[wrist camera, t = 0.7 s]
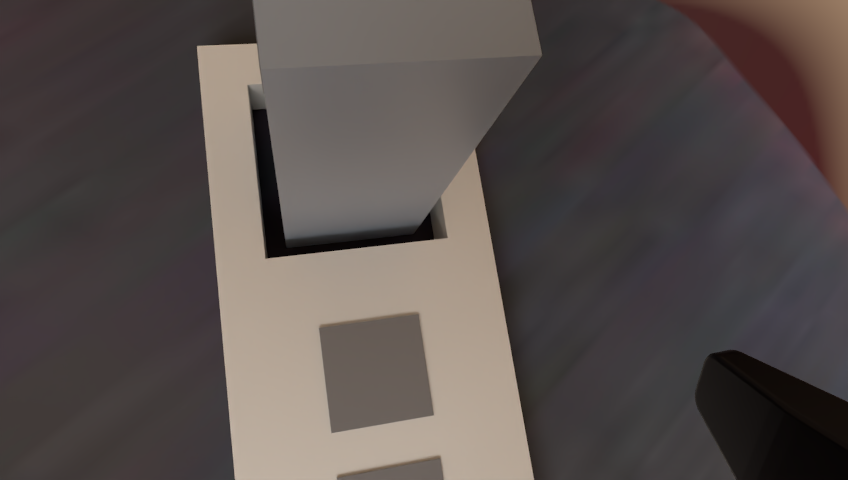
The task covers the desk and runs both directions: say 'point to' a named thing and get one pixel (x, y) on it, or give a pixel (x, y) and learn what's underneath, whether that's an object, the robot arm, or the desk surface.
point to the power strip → (355, 328)
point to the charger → (382, 104)
